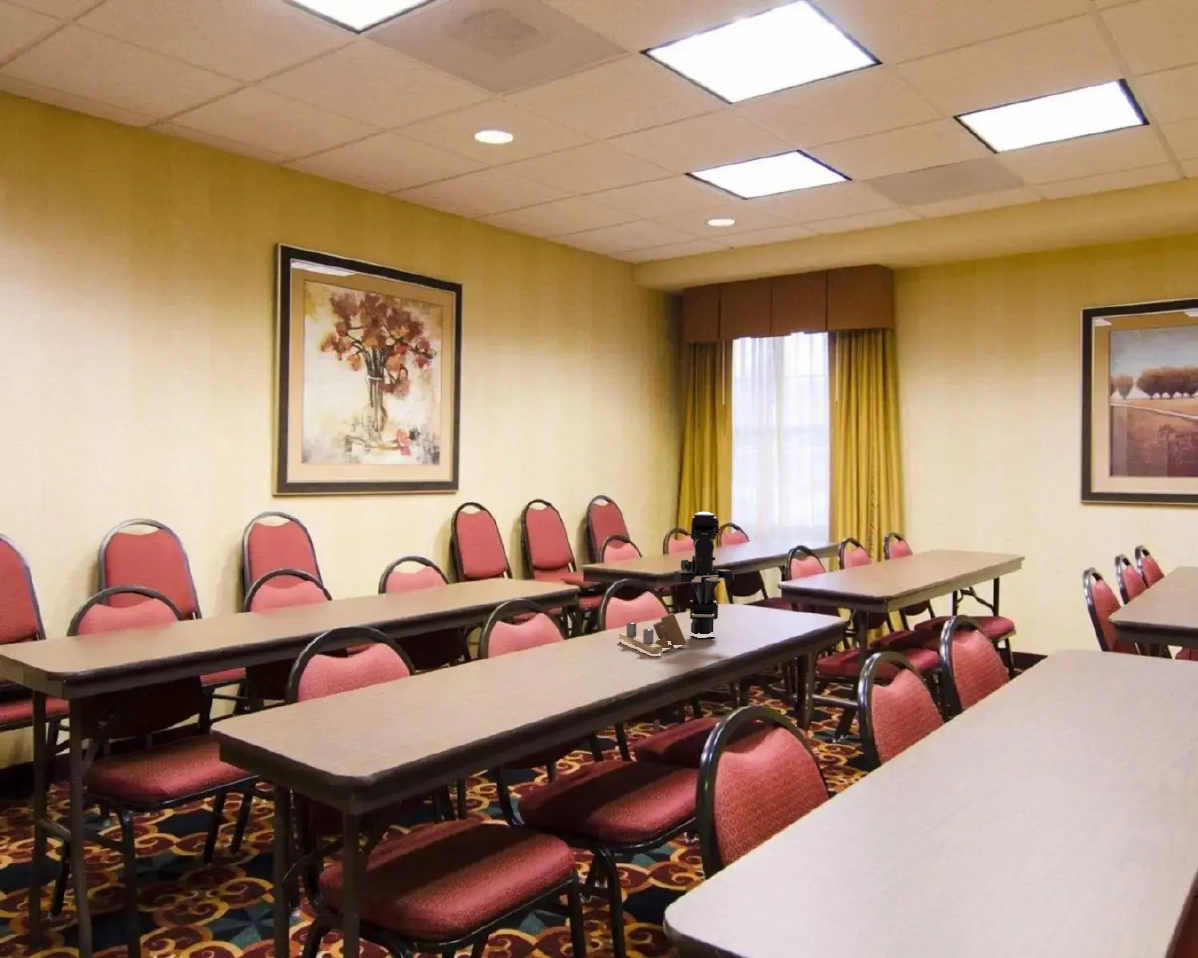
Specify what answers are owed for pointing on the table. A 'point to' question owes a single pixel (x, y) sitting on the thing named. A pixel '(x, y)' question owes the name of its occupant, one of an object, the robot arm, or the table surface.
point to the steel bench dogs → (646, 633)
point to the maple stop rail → (641, 644)
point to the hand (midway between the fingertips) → (703, 603)
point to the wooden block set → (669, 631)
